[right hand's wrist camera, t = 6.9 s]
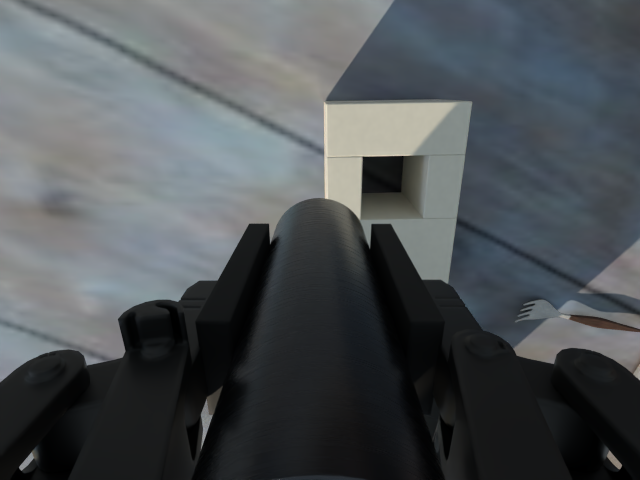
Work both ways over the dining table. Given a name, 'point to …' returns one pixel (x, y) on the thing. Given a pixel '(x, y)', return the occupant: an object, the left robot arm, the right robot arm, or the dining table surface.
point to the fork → (569, 316)
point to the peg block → (418, 170)
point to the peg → (318, 367)
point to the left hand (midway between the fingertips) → (370, 334)
